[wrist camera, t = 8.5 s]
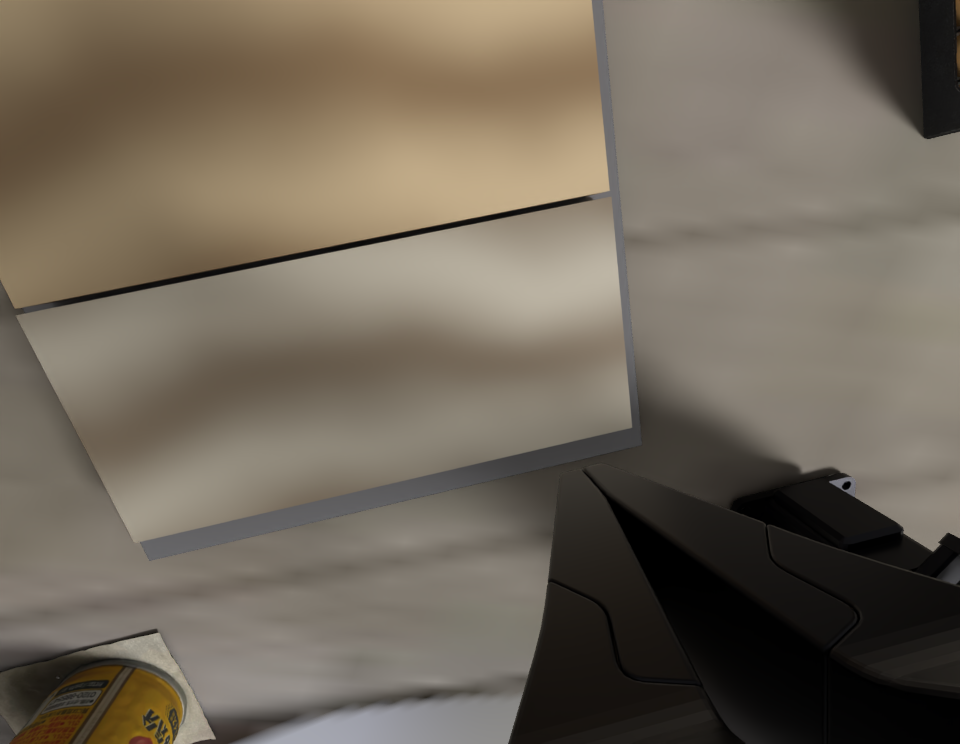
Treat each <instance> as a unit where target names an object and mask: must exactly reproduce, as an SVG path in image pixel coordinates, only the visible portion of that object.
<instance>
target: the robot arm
mask: <svg viewBox="0 0 960 744" xmlns="http://www.w3.org/2000/svg"><path fill="white" fill-rule="evenodd" d="M855 485H856V482H855V479H854V478H852V477H851V476H849V475H847V474H845V473H839V474H835V475H831V476H827V477H823V478H819V479H815V480H811V481H807V482H803V483H799V484H794V485H790V486H786V487H782V488H778V489H774V490H770V491H766V492H762V493H758V494H754V495H750V496H746V497H742V498H739V499H737V500H735V501H734V502H733V504H732V507H731V510H729V509H726V508H723V507H720V506H718V505H715V504H712V503H710V502H707V501H704V500H701V499H699V498H696V497H693V496H691V495H688V494H685V493H682V492H680V491H677V490H674V489H672V488H669V487H666V486H664V485H661V484H658V483H655V482H653V481H650V480H647V479H645V478H642V477H639V476H636V475H634V474H631V473H628V472H626V471H623V470H620V469H617V468H615V467H612V466H609V465H607V464H603V463H599V464H595V465H591V466H587V467H585V468H583V469H582V470H581V469H576V470H572V471H568V472H564V473H562V474H561V475H560V479H559V488H558V497H557V506H556V515H555V523H554V532H553V541H552V550H551V559H550V567H549V576H548V585H547V591H546V600H545V606H544V613H543V619H542V625H541V630H540V634H539V638H538V642H537V646H536V650H535V654H534V658H533V661H532V664H531V668H530V671H529V675H528V678H527V681H526V685H525V688H524V692H523V695H522V699H521V702H520V705H519V709H518V712H517V716H516V719H515V722H514V726H513V729H512V733H511V736H510V740H509V743H508V744H960V538H958V537H956V536H954V535H952V534H950V533H947V534H946V535H945V536H944V537H943V538H942V539H941V540H940V541H939V542H938V543H940V544H941V545H940V546H939V547H938V548H937V549H936V550H935V551H934V552H932V551H931V550H929V549H928V548H926V547H924V546H923V545H921V544H919V543H918V542H916V541H915V540H913V539H911V538H910V537H908V536H906V535H905V534H903V531H904V530H903V527H902V526H901V525H899V524H898V523H896V522H895V521H893V520H891V519H890V518H888V517H886V516H885V515H883V514H881V513H880V512H878V511H876V510H875V509H873V508H871V507H870V506H868V505H866V504H865V503H863V502H861V501H860V500H858V499H856V498H855ZM743 507H744V508H743ZM742 508H743V509H742ZM741 509H742V510H741Z"/></svg>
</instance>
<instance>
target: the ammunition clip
mask: <svg viewBox="0 0 960 744" xmlns="http://www.w3.org/2000/svg"><path fill="white" fill-rule="evenodd" d="M919 19H920V45H921V71H922V97H923V122H924V138H927V139H931V138H935V137H939V136H943V135H947V134H951V133H955V132H960V0H919Z"/></svg>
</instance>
